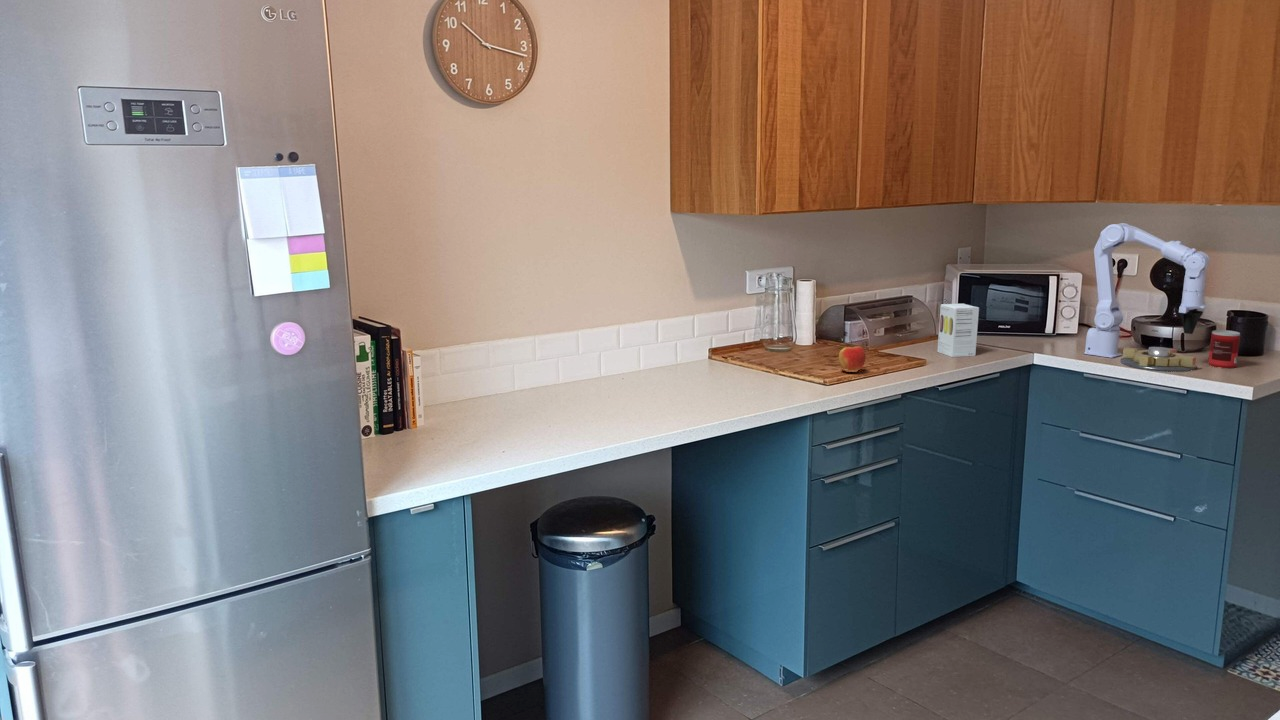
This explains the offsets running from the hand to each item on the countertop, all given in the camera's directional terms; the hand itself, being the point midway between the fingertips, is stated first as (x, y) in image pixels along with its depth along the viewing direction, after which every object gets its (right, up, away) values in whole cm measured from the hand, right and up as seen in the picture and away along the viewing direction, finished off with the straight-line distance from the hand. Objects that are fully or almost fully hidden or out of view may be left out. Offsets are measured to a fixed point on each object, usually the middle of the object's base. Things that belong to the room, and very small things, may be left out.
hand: (1188, 333), depth 289 cm
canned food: (+11, -11, +1) cm, 16 cm away
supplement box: (-66, -7, +22) cm, 70 cm away
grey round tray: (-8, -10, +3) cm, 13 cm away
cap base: (-8, -10, +3) cm, 13 cm away
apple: (-109, -13, -6) cm, 110 cm away
